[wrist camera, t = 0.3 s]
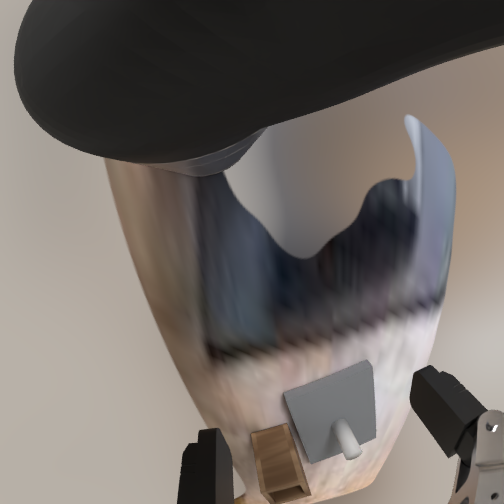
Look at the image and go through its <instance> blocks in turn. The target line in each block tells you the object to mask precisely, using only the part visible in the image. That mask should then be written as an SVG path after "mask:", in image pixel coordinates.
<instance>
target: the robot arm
mask: <svg viewBox="0 0 504 504" xmlns="http://www.w3.org/2000/svg"><path fill="white" fill-rule="evenodd" d="M501 45H504V0H33V1H32V2H31V4H30V5H29V8H28V10H27V12H26V14H25V16H24V18H23V21H22V23H21V26H20V29H19V33H18V37H17V41H16V46H15V56H14V75H15V81H16V86H17V89H18V92H19V95H20V98H21V100H22V103H23V104H24V107H25V108H26V110H27V111H28V113H29V114H30V116H31V117H32V118H33V119H34V121H36V123H37V124H38V125H39V126H40V127H41V128H42V129H43V130H45V131H46V132H47V133H49V134H50V135H51V136H52V137H54V138H56V139H57V140H59V141H61V142H62V143H64V144H66V145H68V146H71V147H73V148H75V149H78V150H80V151H83V152H86V153H90V154H93V155H96V156H100V157H105V158H110V159H115V160H120V161H126V162H131V163H135V164H140V165H145V166H150V167H156V168H160V169H165V170H169V171H173V172H178V173H182V174H186V175H190V176H208V175H213V174H217V173H219V172H222V171H224V170H226V169H228V168H230V167H231V166H233V165H234V164H235V163H236V162H238V161H239V160H240V158H241V157H242V156H243V155H244V154H245V153H246V152H247V150H248V149H249V148H250V147H251V146H252V145H253V143H254V142H255V141H256V140H257V139H258V138H259V137H260V136H261V134H262V133H263V132H264V131H265V130H266V129H267V127H268V126H271V125H274V124H278V123H281V122H284V121H287V120H290V119H294V118H297V117H300V116H304V115H307V114H310V113H313V112H316V111H319V110H322V109H325V108H328V107H331V106H334V105H337V104H340V103H343V102H345V101H348V100H350V99H353V98H356V97H358V96H361V95H363V94H365V93H368V92H370V91H373V90H375V89H377V88H380V87H382V86H385V85H387V84H390V83H392V82H394V81H397V80H399V79H401V78H404V77H407V76H409V75H412V74H414V73H417V72H419V71H422V70H425V69H427V68H430V67H433V66H435V65H439V64H442V63H444V62H447V61H450V60H453V59H457V58H460V57H463V56H466V55H469V54H473V53H476V52H480V51H483V50H487V49H490V48H494V47H498V46H501ZM410 404H411V406H412V408H413V410H414V411H415V413H416V414H417V415H418V417H419V418H420V419H421V421H422V422H423V423H424V425H425V426H426V428H427V429H428V430H429V432H430V433H431V434H432V436H433V437H434V439H435V440H436V441H437V443H438V444H439V446H440V447H441V448H442V450H443V451H444V453H445V454H446V456H447V457H448V458H450V457H451V456H453V455H455V454H456V453H457V454H458V455H459V459H458V463H457V469H456V475H455V481H454V486H453V491H452V495H451V498H450V501H449V502H448V504H504V413H503V412H501V411H498V410H489V411H488V410H487V409H486V408H485V407H484V406H483V405H482V404H481V403H480V402H479V401H478V400H477V399H476V398H475V397H474V396H473V395H472V394H471V393H470V392H469V391H468V390H466V389H465V387H464V386H463V385H462V384H460V382H459V381H458V380H457V379H456V378H455V377H454V376H453V375H451V374H448V373H446V372H444V371H442V372H440V373H439V372H438V371H437V370H436V369H435V368H434V367H433V366H431V365H429V366H427V367H424V368H422V369H420V370H418V371H416V372H414V374H413V379H412V386H411V392H410ZM181 464H182V467H181V472H180V473H181V475H180V480H179V490H178V499H177V504H234V492H233V467H232V456H231V452H230V449H229V447H228V445H227V443H226V441H225V439H224V437H223V435H222V433H221V431H220V429H219V428H212V429H204V430H200V431H199V433H198V443H189V444H188V446H187V447H186V449H185V451H184V452H183V456H182V463H181Z"/></svg>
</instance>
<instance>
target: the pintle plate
mask: <svg viewBox="0 0 504 504" xmlns="http://www.w3.org/2000/svg"><path fill="white" fill-rule="evenodd" d="M284 396H285V399H286V402H287V405H288V407H289V410H290V413H291V415H292V418H293V420H294V423H295V426H296V428H297V431H298V433H299V436H300V438H301V441H302V443H303V446H304V448H305V451H306V453H307V456H308V458H309V461H310V463H311V464H313V463H316V462H319V461H321V460H324V459H327V458H330V457H332V456H335V455H338V454H340V453H343V454H344V456H345V458H346V460H352V459H355V458H357V457H358V456H360V455H361V454H362V450H361V448H360V446H359V445H361V444H364V443H366V442H368V441H370V440H372V439H374V438H376V414H375V394H374V379H373V367H372V365H371V364H370V362H369V361H368V360H365V361H363V362H361V363H358V364H356V365H354V366H352V367H349V368H347V369H345V370H342V371H340V372H337V373H335V374H333V375H330V376H328V377H325V378H323V379H320V380H317V381H315V382H312V383H309V384H307V385H304V386H301V387H298V388H296V389H293V390H290V391H287V392H284Z"/></svg>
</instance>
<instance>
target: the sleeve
mask: <svg viewBox="0 0 504 504" xmlns="http://www.w3.org/2000/svg"><path fill="white" fill-rule="evenodd" d="M251 437H252V443H253V449H254V455H255V462H256V468H257V474H258V480H259V486H260V491H261V494H262V495H263V496H264V497H265V498H266V499H267V500H268V502H269V503H270V504H281V503H285V502H289V501H293V500H296V499H300V498H304V497H307V496H310V495H311V492H310V489H309V486H308V483H307V479H306V476H305V473H304V470H303V467H302V463H301V460H300V457H299V454H298V450H297V447H296V444H295V441H294V439H293V436H292V434H291V432H290V429H289V427H288V424H287V423H286V424H283V425H279V426H276V427H273V428H269V429H266V430H262V431H259V432H255V433H251Z"/></svg>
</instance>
